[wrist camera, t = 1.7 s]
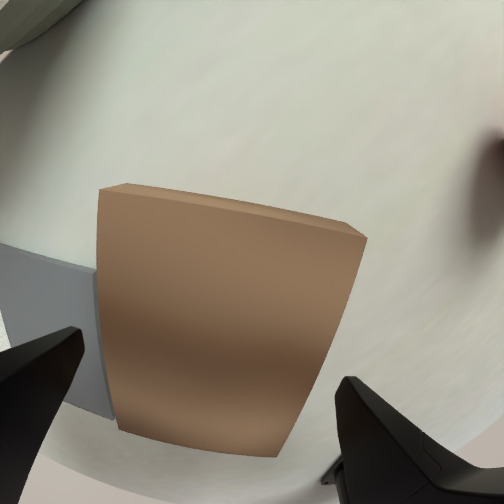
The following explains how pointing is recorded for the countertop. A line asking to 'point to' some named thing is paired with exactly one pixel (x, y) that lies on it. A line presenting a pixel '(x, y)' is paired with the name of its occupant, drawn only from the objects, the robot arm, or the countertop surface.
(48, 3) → the bowl
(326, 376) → the countertop surface
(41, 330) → the mat
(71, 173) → the countertop surface
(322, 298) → the cover
